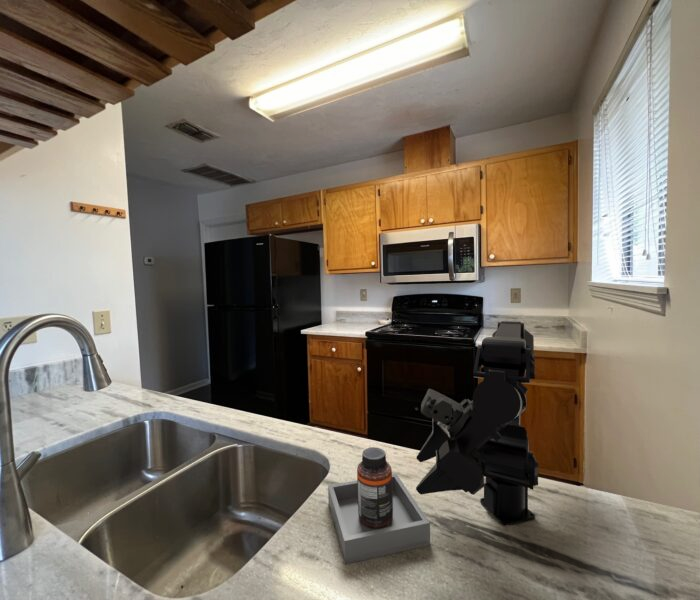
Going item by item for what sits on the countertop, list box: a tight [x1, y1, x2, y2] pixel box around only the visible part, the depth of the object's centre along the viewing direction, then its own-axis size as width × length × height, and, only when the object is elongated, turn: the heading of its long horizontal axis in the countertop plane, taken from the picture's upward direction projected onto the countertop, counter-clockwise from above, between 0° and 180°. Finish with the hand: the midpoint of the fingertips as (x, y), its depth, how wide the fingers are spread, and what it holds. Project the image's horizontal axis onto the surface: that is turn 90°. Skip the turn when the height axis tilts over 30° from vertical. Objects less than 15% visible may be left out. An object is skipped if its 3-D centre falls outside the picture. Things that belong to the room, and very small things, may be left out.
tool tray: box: [327, 473, 431, 565], centre depth 54 cm, size 14×14×4 cm
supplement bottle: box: [356, 446, 393, 528], centre depth 54 cm, size 6×6×11 cm
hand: (418, 474), depth 53 cm, fingers open, 9 cm apart
